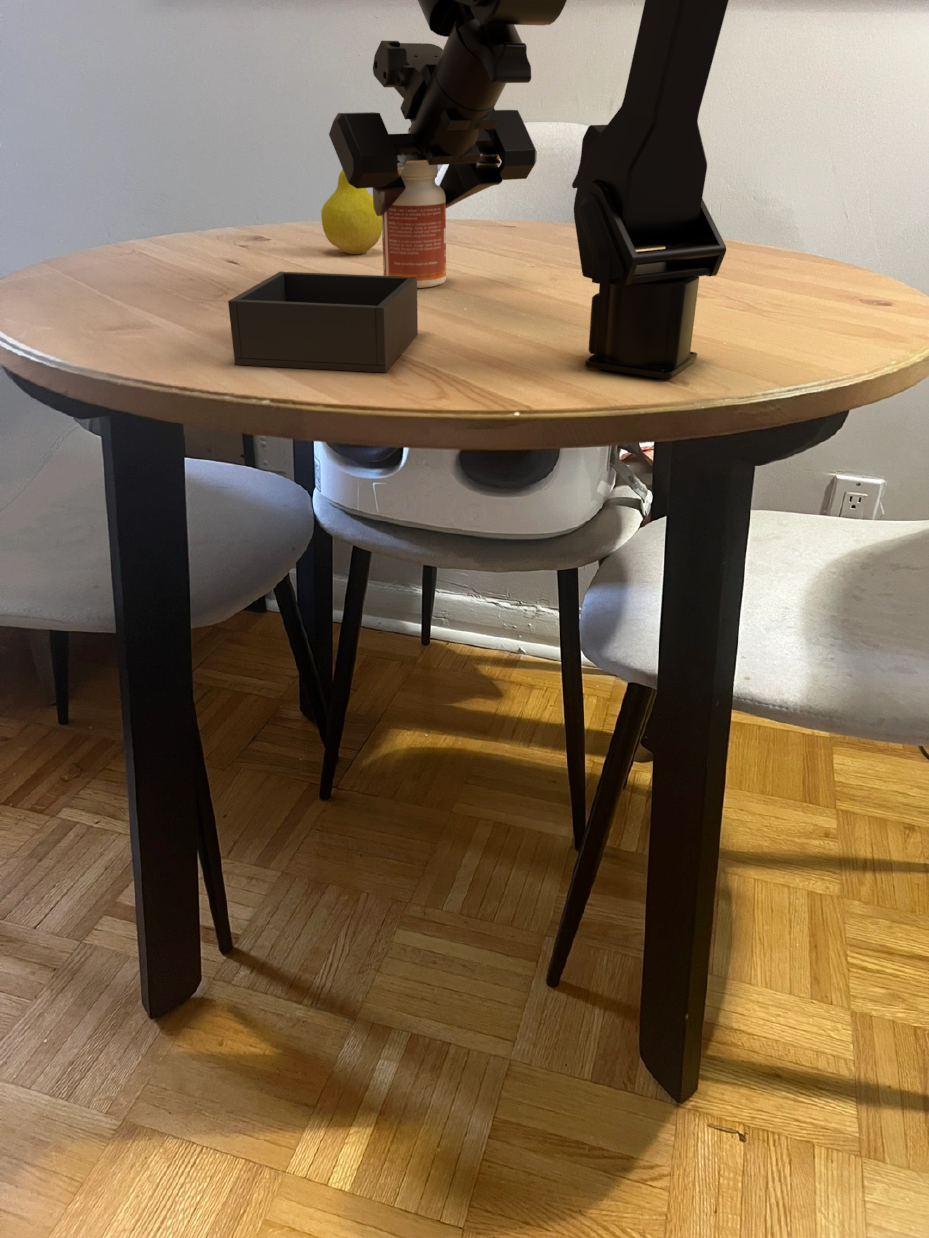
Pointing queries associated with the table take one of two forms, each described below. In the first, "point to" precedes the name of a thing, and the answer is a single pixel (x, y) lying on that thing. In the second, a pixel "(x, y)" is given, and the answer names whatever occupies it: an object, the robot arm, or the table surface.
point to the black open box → (325, 321)
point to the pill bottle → (416, 228)
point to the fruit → (351, 218)
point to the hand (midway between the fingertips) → (407, 210)
